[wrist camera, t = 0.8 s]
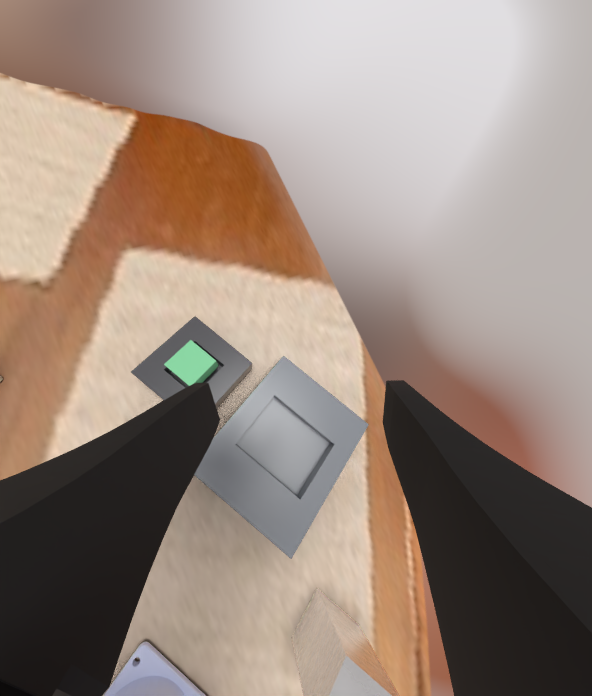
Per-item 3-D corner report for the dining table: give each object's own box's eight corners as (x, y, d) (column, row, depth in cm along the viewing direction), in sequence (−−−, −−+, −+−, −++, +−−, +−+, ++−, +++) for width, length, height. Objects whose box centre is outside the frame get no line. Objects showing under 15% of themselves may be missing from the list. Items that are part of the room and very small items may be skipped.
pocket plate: (286, 545, 22) (291, 558, 20) (193, 464, 23) (187, 468, 21) (358, 424, 27) (368, 424, 25) (280, 361, 28) (283, 355, 26)
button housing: (200, 426, 24) (194, 426, 21) (144, 378, 25) (130, 372, 22) (251, 369, 27) (252, 363, 24) (200, 327, 28) (194, 316, 25)
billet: (336, 677, 20) (378, 796, 14) (291, 637, 20) (312, 736, 14) (358, 623, 22) (406, 708, 15) (317, 587, 22) (346, 655, 15)
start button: (195, 390, 23) (190, 386, 21) (170, 369, 23) (163, 364, 21) (218, 366, 24) (216, 360, 22) (195, 346, 24) (190, 339, 22)
